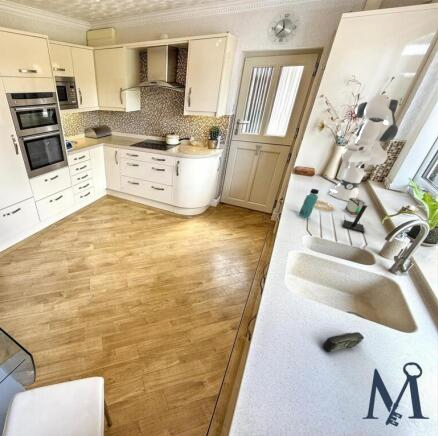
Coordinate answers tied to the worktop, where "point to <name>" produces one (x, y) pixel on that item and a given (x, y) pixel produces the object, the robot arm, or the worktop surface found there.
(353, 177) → the robot arm
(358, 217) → the post
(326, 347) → the dark elongated rock
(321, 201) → the ring
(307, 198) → the beverage bottle
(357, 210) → the food container
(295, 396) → the worktop surface
